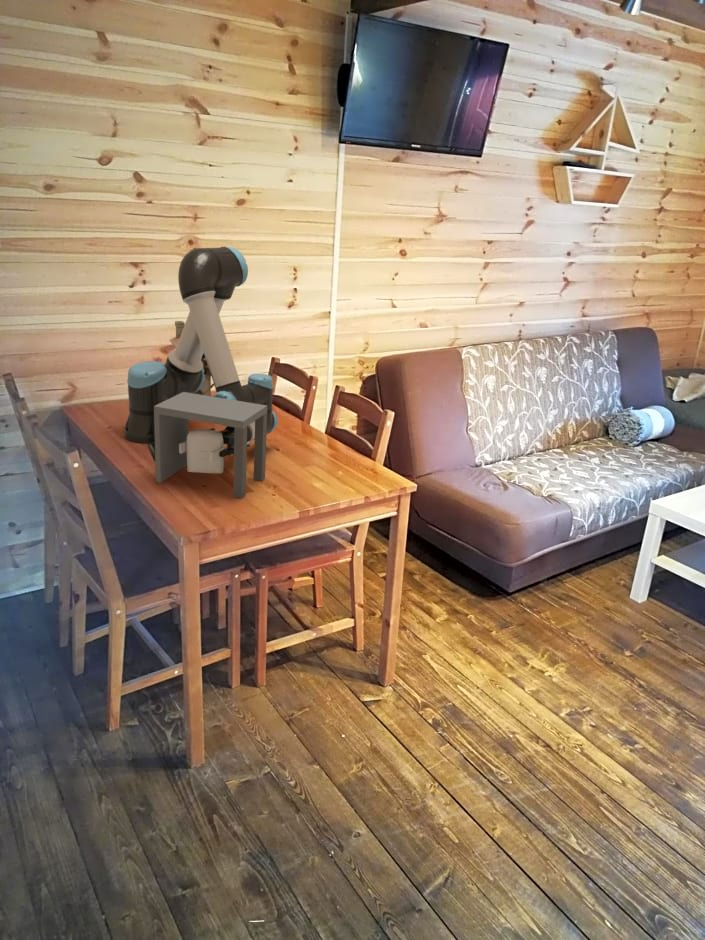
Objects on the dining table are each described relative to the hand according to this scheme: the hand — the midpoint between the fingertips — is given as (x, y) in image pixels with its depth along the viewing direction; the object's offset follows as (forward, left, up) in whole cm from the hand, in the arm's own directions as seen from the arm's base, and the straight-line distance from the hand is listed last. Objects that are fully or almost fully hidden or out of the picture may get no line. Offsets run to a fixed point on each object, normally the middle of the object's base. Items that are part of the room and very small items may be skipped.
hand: (195, 452), depth 198 cm
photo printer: (+1, +4, -7) cm, 8 cm away
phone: (-20, +17, -10) cm, 28 cm away
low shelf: (+3, +4, -9) cm, 10 cm away
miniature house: (-33, +61, -9) cm, 70 cm away
